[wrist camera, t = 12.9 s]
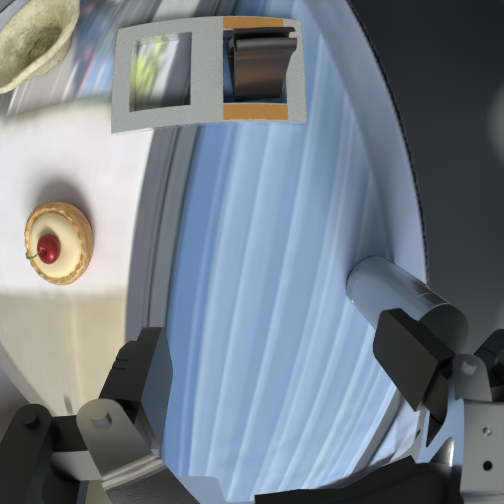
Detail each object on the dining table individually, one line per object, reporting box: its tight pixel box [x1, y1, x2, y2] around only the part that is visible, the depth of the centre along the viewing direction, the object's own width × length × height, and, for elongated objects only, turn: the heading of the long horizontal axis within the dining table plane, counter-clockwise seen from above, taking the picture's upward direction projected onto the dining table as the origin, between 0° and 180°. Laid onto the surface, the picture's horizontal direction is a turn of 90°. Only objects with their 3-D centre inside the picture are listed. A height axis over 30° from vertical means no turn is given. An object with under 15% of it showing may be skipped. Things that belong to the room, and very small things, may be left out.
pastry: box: [24, 202, 94, 285], centre depth 32 cm, size 12×12×9 cm
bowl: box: [0, 0, 80, 93], centre depth 20 cm, size 14×18×15 cm
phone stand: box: [226, 27, 297, 102], centre depth 26 cm, size 9×6×12 cm, turn 8°
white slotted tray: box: [111, 16, 307, 135], centre depth 30 cm, size 25×16×3 cm, turn 91°
